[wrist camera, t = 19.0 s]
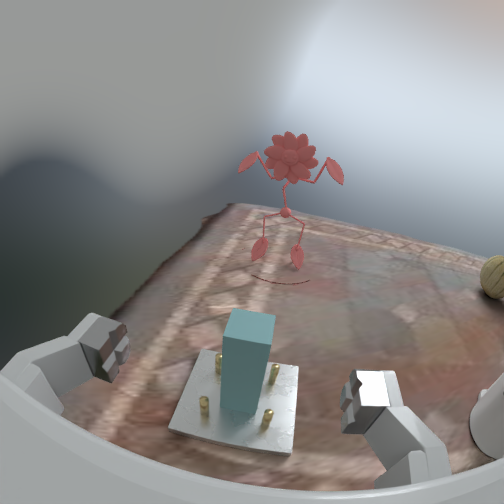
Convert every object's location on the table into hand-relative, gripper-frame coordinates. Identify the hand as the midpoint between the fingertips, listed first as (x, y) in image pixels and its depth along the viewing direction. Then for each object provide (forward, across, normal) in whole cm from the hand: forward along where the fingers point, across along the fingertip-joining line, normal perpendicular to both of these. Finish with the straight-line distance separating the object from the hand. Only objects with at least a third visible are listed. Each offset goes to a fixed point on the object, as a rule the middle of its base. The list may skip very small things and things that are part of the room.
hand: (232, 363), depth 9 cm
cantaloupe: (+63, -78, +28) cm, 104 cm away
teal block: (+17, +1, +27) cm, 32 cm away
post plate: (+17, +1, +28) cm, 33 cm away
